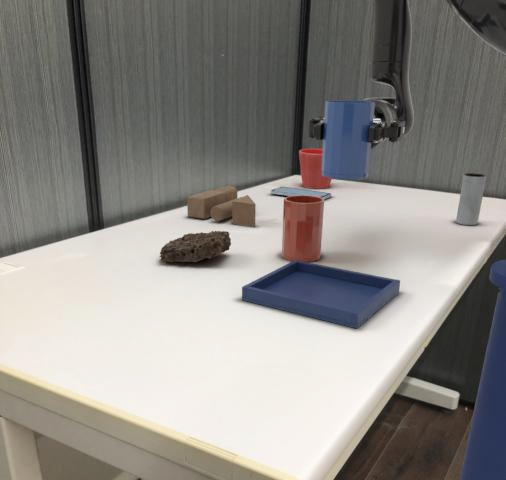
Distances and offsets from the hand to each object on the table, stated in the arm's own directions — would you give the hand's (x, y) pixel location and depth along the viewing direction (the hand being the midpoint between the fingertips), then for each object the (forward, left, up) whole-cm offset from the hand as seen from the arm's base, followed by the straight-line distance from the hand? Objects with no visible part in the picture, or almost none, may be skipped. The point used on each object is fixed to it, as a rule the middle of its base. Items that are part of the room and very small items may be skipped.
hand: (344, 133), depth 79 cm
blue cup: (0, -2, -6) cm, 6 cm away
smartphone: (+37, -57, -22) cm, 72 cm away
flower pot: (+40, -72, -22) cm, 86 cm away
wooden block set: (+38, -29, -22) cm, 53 cm away
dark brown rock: (+25, +3, -22) cm, 33 cm away
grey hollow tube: (-7, -52, -22) cm, 57 cm away
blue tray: (-1, +7, -22) cm, 23 cm away
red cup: (+11, -9, -22) cm, 26 cm away
